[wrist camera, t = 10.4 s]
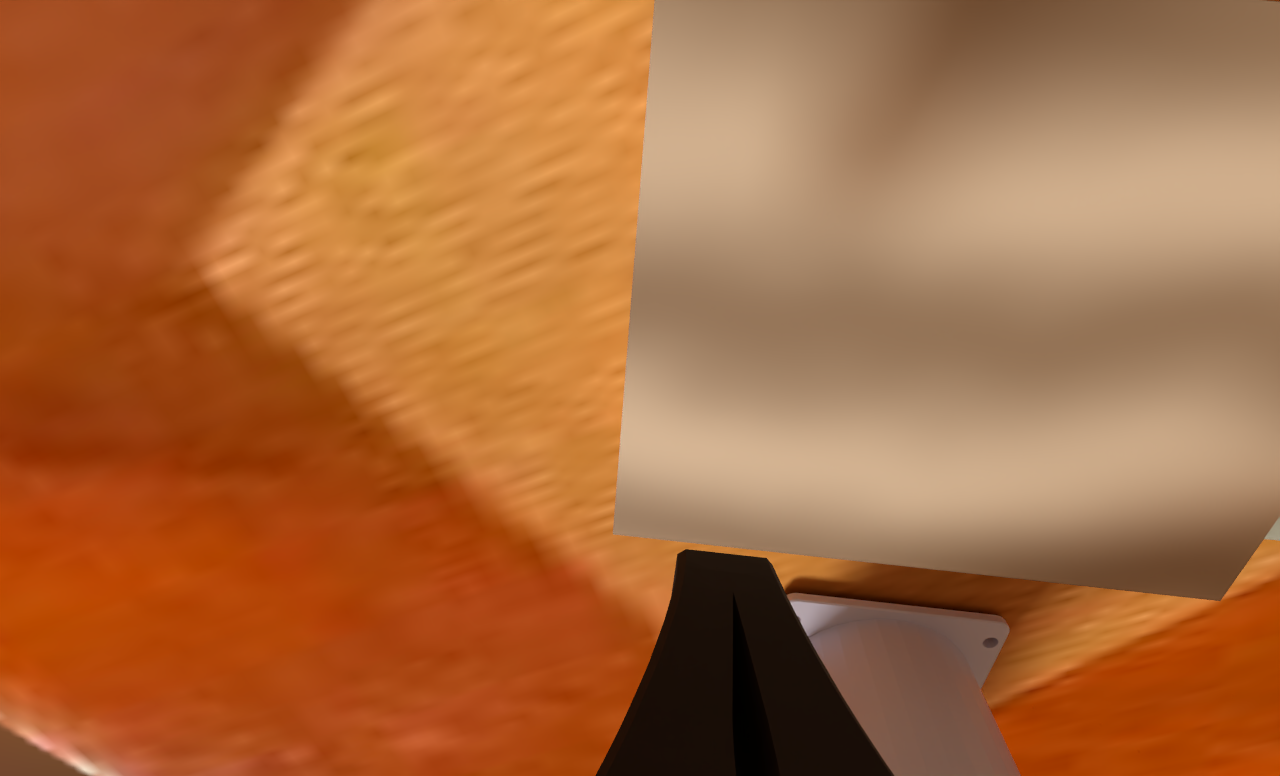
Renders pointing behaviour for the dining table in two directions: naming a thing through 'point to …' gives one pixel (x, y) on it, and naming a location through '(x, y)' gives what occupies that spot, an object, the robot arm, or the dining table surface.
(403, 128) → the dining table surface
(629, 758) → the robot arm
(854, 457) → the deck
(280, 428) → the dining table surface
